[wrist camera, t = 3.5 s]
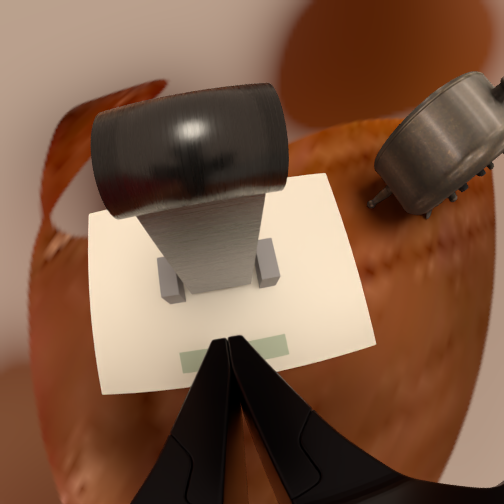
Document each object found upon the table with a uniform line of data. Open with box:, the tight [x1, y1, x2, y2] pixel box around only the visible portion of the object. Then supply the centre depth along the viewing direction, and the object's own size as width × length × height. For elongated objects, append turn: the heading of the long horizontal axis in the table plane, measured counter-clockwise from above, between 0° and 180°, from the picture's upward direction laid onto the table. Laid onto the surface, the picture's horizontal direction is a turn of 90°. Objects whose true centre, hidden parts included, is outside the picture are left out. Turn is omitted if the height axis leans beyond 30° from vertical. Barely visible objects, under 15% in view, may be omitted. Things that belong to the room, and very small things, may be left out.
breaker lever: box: [91, 83, 289, 294], centre depth 9 cm, size 2×3×10 cm
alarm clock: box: [367, 72, 504, 219], centre depth 14 cm, size 11×5×16 cm, turn 121°
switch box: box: [88, 173, 376, 395], centre depth 16 cm, size 10×14×6 cm
